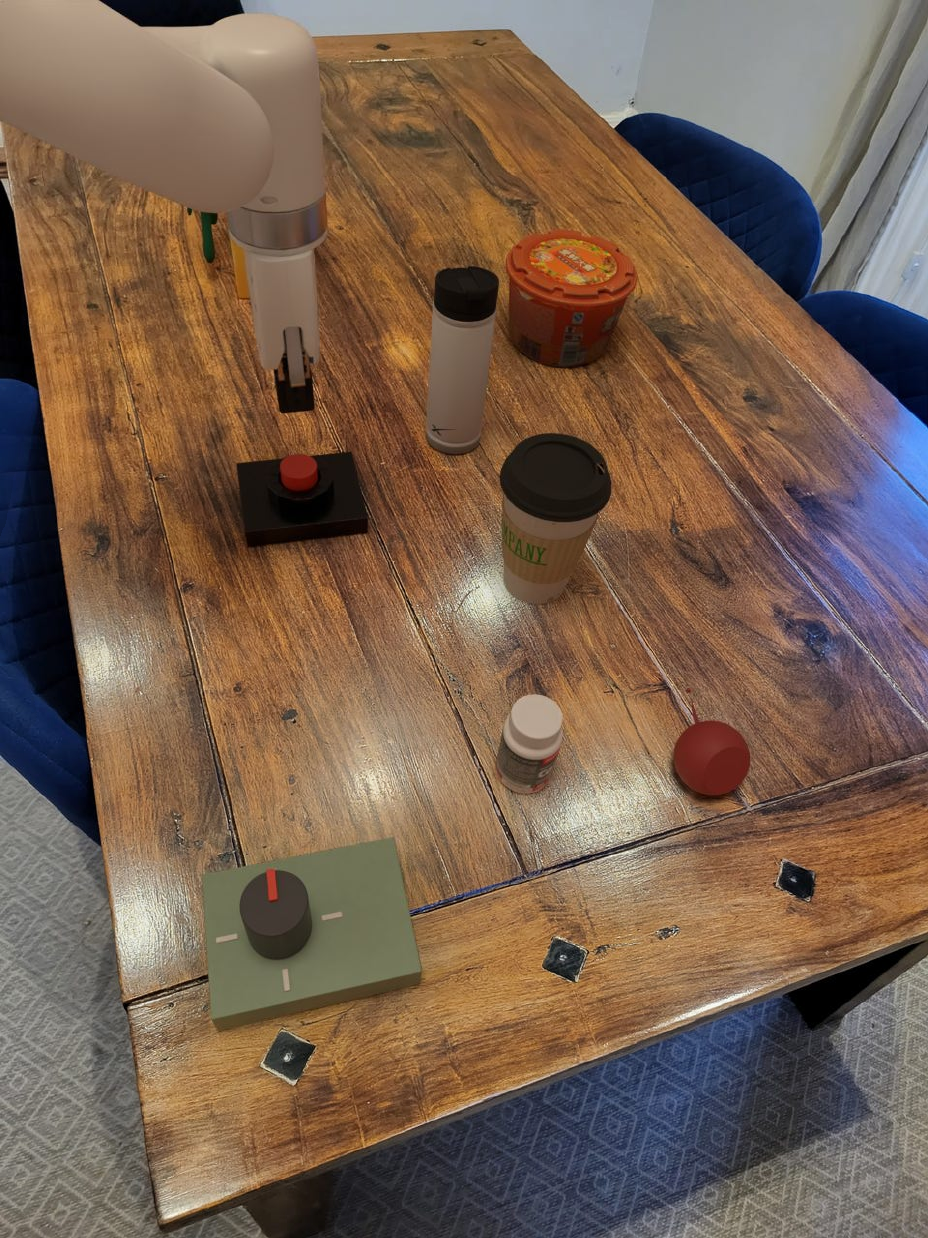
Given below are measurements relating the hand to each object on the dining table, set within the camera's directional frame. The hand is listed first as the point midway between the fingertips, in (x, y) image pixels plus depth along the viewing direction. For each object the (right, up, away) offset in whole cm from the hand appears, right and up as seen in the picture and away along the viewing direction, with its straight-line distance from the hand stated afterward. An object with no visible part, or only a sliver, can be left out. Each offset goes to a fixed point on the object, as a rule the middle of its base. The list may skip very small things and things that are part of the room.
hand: (296, 406), depth 81 cm
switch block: (-1, -8, +10) cm, 13 cm away
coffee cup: (+22, -16, +6) cm, 28 cm away
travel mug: (+14, +1, +18) cm, 23 cm away
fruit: (+35, -32, -5) cm, 48 cm away
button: (-1, -6, +7) cm, 9 cm away
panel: (+4, -43, -17) cm, 46 cm away
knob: (+3, -41, -20) cm, 46 cm away
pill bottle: (+20, -32, -7) cm, 39 cm away
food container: (+28, +16, +32) cm, 45 cm away
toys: (-13, +28, +37) cm, 49 cm away
